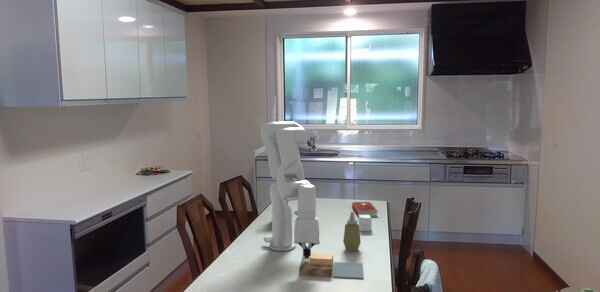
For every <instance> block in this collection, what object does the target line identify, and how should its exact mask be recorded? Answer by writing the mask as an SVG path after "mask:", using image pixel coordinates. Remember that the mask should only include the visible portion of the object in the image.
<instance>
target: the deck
mask: <svg viewBox="0 0 600 292" xmlns="http://www.w3.org/2000/svg"><path fill="white" fill-rule="evenodd" d="M298 269H299V271H298V273H299V276H304V277H305V276H306V277H307V276H308V277H325V278H326V277H327V278H333V271H334V259H333V260H332V265H319V264H310V256H309V259H307V258H306V259H305V256H303V255H302V257H301V261H300V264H299V268H298Z"/></svg>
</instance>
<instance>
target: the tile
mask: <svg viewBox="0 0 600 292" xmlns="http://www.w3.org/2000/svg"><path fill="white" fill-rule="evenodd" d="M333 254H334V253H329V252H327V253H326V252H311V255H310V264H319V265H332V260H333V261H334V255H333Z"/></svg>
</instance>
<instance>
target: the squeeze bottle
mask: <svg viewBox="0 0 600 292" xmlns="http://www.w3.org/2000/svg"><path fill="white" fill-rule="evenodd" d="M349 215H350V216H349V218H348V219H347V220H346V223H345V225H344V233H343V245H344V249H345V250H346V251H347V252H356V251H358V250H359V248H360V245H361V242H362V241H361V240H362V239H361V231H360V229H359V223H358V219H357V218H356V217H355V211H350V214H349Z"/></svg>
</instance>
